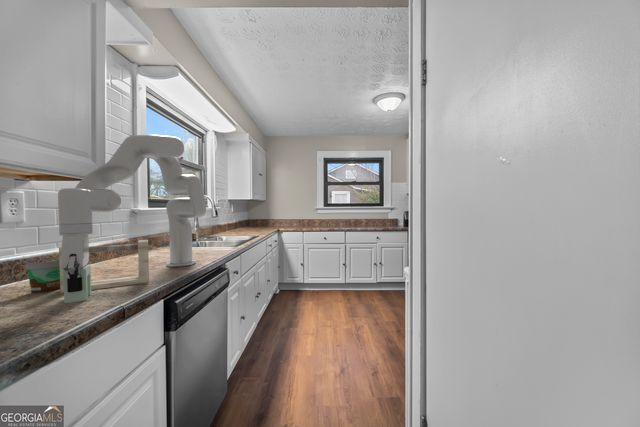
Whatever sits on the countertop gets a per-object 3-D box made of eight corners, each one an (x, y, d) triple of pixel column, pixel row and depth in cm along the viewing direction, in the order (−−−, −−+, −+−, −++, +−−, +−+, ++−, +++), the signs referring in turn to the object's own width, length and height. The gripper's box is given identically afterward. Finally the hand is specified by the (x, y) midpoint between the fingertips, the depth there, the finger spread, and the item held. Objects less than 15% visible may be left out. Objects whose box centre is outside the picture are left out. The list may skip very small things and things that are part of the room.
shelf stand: (65, 288, 93) (64, 244, 92) (148, 278, 106) (148, 239, 105) (60, 293, 88) (58, 247, 87) (148, 282, 100) (147, 241, 100)
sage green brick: (70, 296, 85) (69, 266, 85) (91, 293, 88) (90, 264, 87) (64, 303, 79) (63, 270, 79) (86, 300, 82) (85, 268, 81)
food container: (40, 295, 86) (39, 263, 86) (25, 294, 88) (24, 263, 87) (81, 284, 99) (80, 256, 98) (68, 283, 100) (67, 255, 99)
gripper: (67, 228, 88) (69, 283, 89) (50, 232, 73) (52, 298, 74) (97, 227, 92) (98, 279, 93) (86, 231, 77) (88, 293, 78)
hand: (78, 287), depth 83 cm, fingers closed on sage green brick, 7 cm apart
